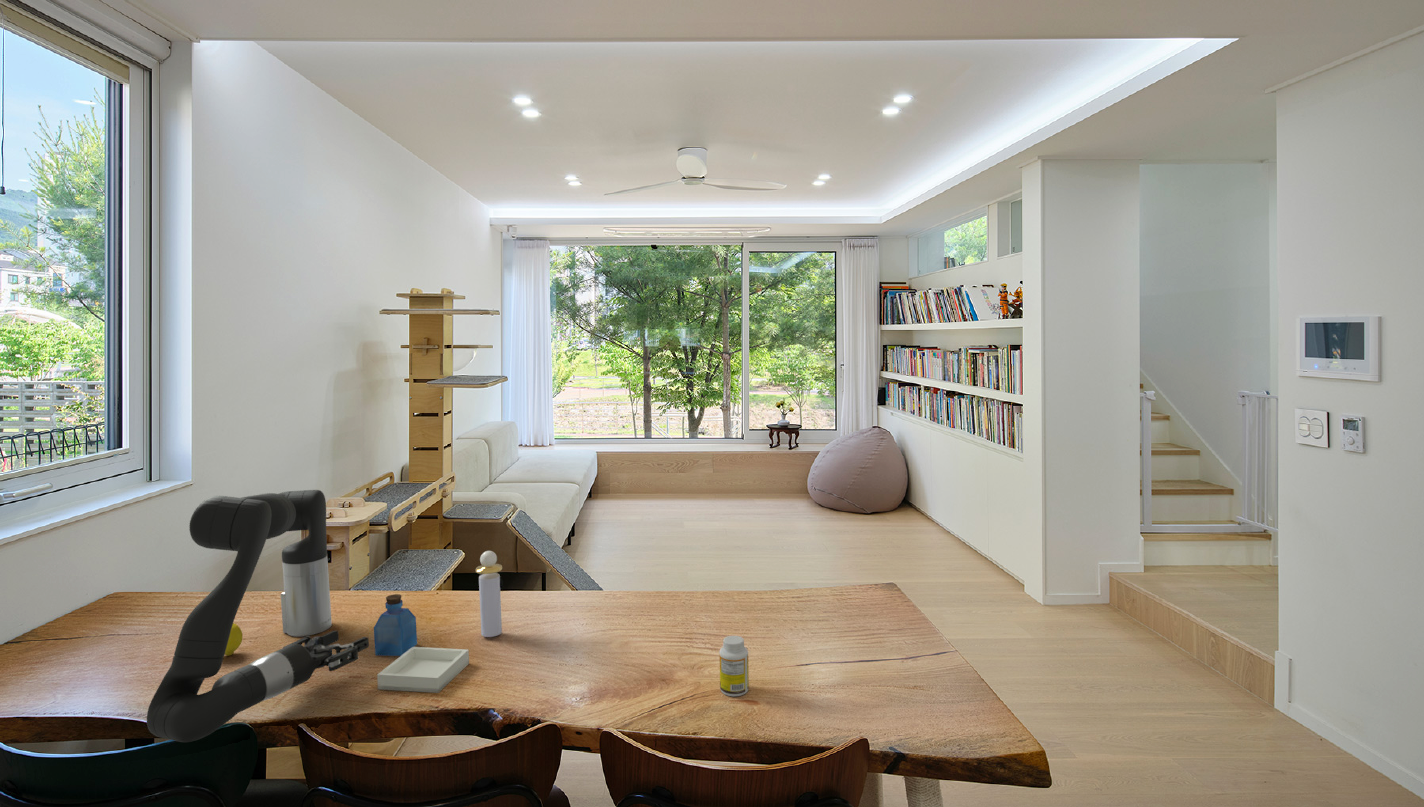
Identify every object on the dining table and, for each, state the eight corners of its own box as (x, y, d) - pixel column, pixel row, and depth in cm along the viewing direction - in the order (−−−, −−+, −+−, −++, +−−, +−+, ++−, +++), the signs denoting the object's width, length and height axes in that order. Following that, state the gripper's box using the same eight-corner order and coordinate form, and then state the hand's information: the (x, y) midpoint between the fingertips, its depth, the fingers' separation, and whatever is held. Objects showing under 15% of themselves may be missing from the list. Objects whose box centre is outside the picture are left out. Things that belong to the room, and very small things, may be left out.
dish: (378, 689, 139) (377, 674, 139) (413, 660, 152) (412, 646, 151) (438, 692, 138) (437, 678, 137) (469, 663, 150) (468, 649, 150)
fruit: (206, 659, 153) (204, 623, 153) (232, 648, 159) (229, 613, 158) (225, 663, 152) (222, 626, 151) (249, 652, 157) (247, 616, 156)
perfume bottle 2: (492, 643, 160) (489, 556, 158) (473, 638, 162) (469, 553, 160) (510, 633, 165) (506, 549, 163) (490, 629, 168) (487, 546, 166)
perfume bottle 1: (417, 643, 160) (414, 592, 159) (402, 656, 154) (399, 602, 153) (390, 643, 161) (388, 591, 160) (375, 655, 155) (372, 601, 153)
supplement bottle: (731, 680, 141) (731, 631, 140) (754, 689, 138) (754, 638, 137) (713, 691, 137) (713, 640, 136) (736, 701, 133) (736, 648, 132)
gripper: (303, 659, 129) (376, 625, 143) (250, 646, 134) (326, 615, 149) (306, 699, 129) (378, 661, 144) (253, 685, 135) (328, 650, 150)
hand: (352, 638), depth 146 cm, fingers open, 8 cm apart
